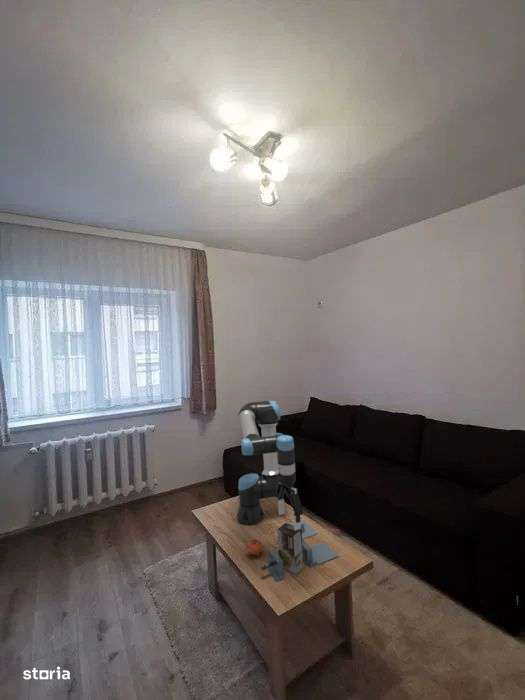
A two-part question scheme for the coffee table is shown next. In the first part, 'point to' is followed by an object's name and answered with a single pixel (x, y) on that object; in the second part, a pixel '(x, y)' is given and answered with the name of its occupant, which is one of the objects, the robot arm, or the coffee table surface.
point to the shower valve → (306, 529)
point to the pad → (323, 553)
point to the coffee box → (290, 547)
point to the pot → (254, 547)
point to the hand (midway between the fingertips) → (289, 521)
